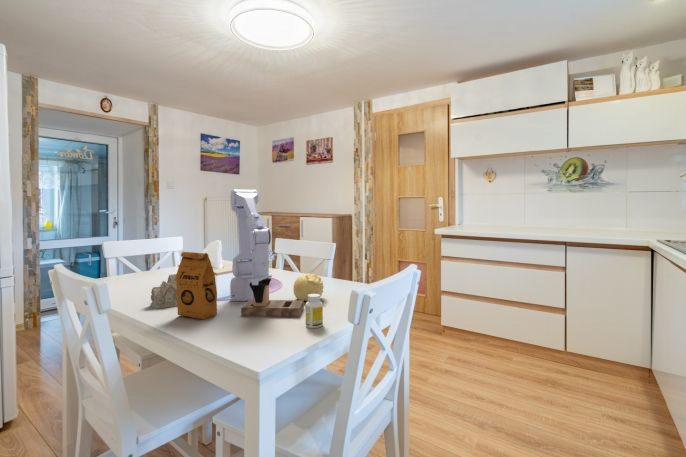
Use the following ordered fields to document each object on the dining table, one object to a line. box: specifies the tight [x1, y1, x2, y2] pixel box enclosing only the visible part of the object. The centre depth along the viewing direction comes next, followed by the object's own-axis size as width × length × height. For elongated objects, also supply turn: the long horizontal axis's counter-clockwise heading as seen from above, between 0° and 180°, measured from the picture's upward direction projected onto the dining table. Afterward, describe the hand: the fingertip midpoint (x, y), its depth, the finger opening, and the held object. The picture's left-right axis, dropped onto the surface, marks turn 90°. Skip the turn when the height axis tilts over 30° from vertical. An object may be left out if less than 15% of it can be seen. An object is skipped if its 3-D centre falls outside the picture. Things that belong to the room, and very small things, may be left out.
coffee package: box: [175, 251, 218, 320], centre depth 121 cm, size 10×12×22 cm
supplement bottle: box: [305, 294, 324, 329], centre depth 112 cm, size 5×5×10 cm
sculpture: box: [292, 272, 324, 302], centre depth 142 cm, size 12×12×11 cm
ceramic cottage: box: [149, 273, 177, 309], centre depth 138 cm, size 16×16×15 cm
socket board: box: [240, 299, 305, 318], centre depth 126 cm, size 20×10×3 cm, turn 88°
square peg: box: [253, 284, 270, 306], centre depth 126 cm, size 4×4×8 cm
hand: (260, 300), depth 126 cm, fingers closed on square peg, 4 cm apart
